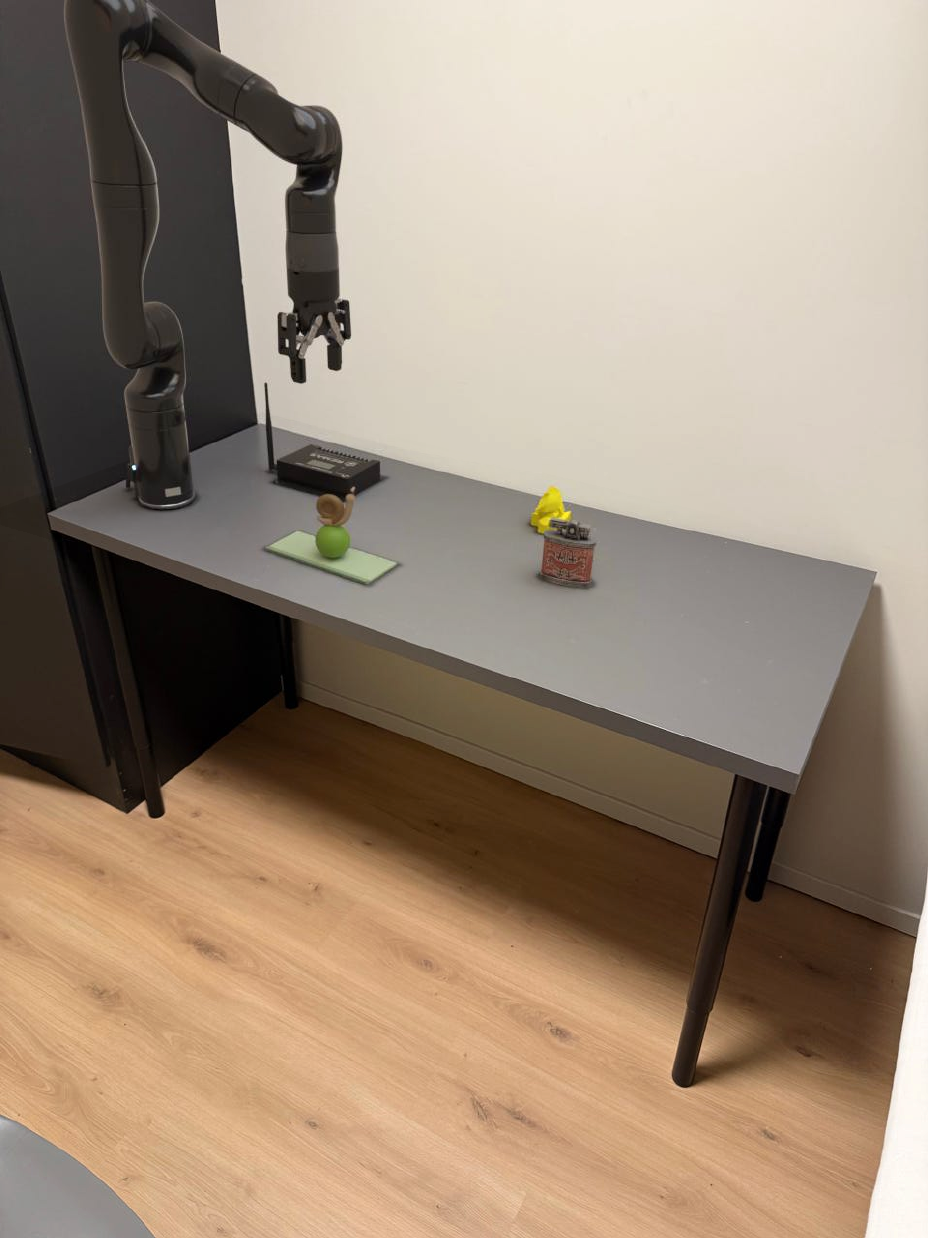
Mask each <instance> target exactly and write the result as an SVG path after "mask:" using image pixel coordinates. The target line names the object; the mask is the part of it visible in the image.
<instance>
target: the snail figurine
mask: <svg viewBox="0 0 928 1238" xmlns="http://www.w3.org/2000/svg"><path fill="white" fill-rule="evenodd" d="M354 490H355V487H352V489H350V491H351V492H352V494H348V495H347V496H346V500H345V501H346V502H345V505H344V502H342V501H341V500H340V499H339V498H338V497H336V496H334V495H331V494H325V495H323V496H319V497H318V499H317V500H316V504H315V508H316V511H317V514H319V515H317V516H316V520H317V521H318V522H319V523H320V524H322V525H321V527H320V528H319V529H318V530H317V532H316V534H315V536H316V538H315V543H316V547H317V549H318V550H319V552H320V553H321V554H323V555H324V556H326V557H329V558H337V557H340V556H342V555H343V554H345V553H346V552H347V550H348V548H349V547H350V546H351V535H350V533H349V531H348V529H347V528H345V526H344V525H345V524H347V522H348V521H349V520H350V518H351V516H352V512H353V508H354V502H355V501H356V499H355V498H356V496H355V495H354V493H353V491H354Z"/></svg>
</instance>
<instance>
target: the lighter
mask: <svg viewBox="0 0 928 1238" xmlns="http://www.w3.org/2000/svg"><path fill="white" fill-rule="evenodd" d="M549 527H551V528H556V529H557V530H552V529H550V530H546V531H545V532H544V534H543V539H544V540H543V550H542V551H543V552H542V560H541V569H540V571H539V578H540V579H541V580H544V581H546V582H549V583H552V584H557V585H562V586H567V587H573V588H583V589H584V588H589V587H591V585H592V569H593V563H594V554H595V547H596V546H597V538H596V537H594V536H591V535H590V530H591V525H590V524H585V523H580V521H579V520H578V519H572V520H570V522H569V521H566V520H563V519H558V518H551V519H550V523H549ZM562 530H564V531H562Z"/></svg>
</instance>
